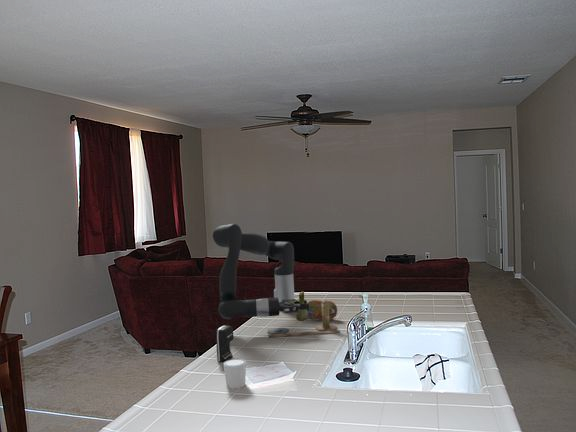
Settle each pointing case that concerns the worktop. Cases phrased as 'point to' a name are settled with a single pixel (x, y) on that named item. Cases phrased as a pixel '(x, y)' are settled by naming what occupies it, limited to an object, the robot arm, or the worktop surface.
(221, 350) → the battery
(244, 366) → the white cup
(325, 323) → the brown long irregular piece
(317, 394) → the worktop surface
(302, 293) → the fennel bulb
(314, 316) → the tin
